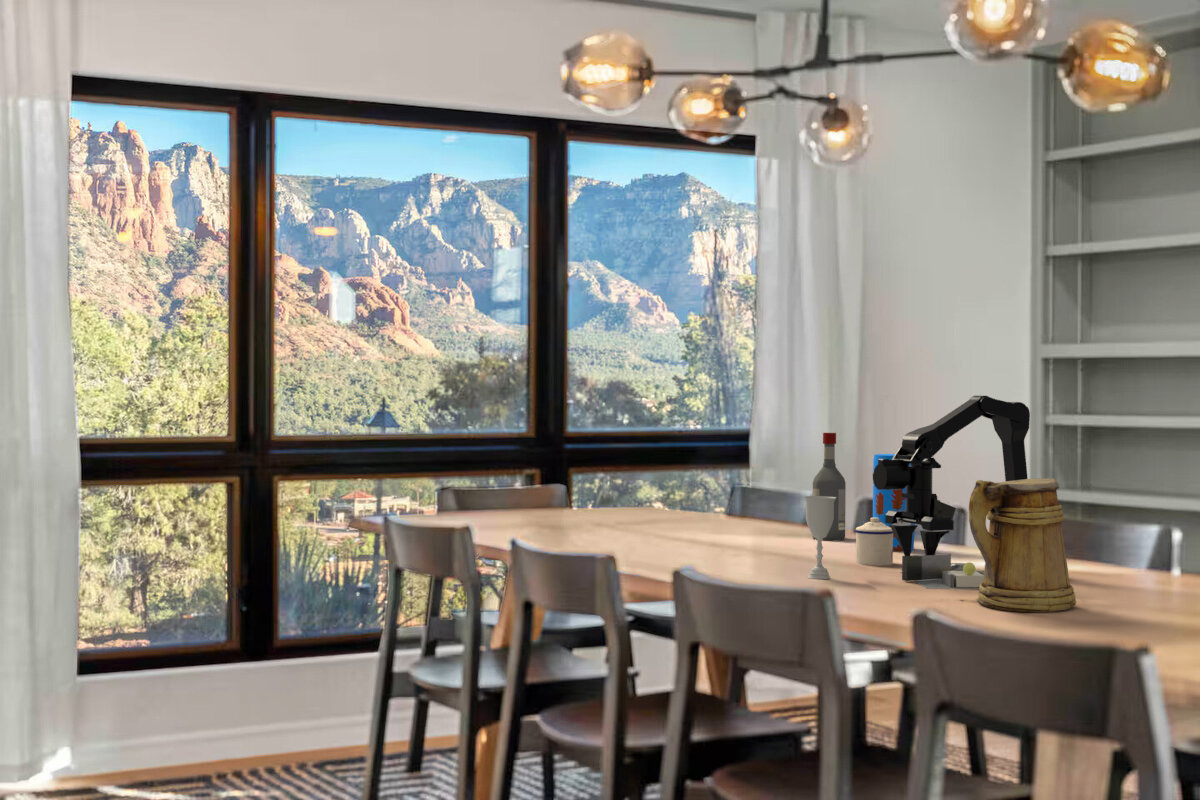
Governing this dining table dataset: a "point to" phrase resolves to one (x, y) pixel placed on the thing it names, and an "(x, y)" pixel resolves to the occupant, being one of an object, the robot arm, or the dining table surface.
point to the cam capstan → (928, 566)
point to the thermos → (888, 502)
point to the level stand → (943, 582)
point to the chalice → (819, 528)
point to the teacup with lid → (874, 544)
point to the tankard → (1021, 545)
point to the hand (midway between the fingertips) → (918, 559)
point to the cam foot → (967, 576)
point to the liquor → (832, 487)
